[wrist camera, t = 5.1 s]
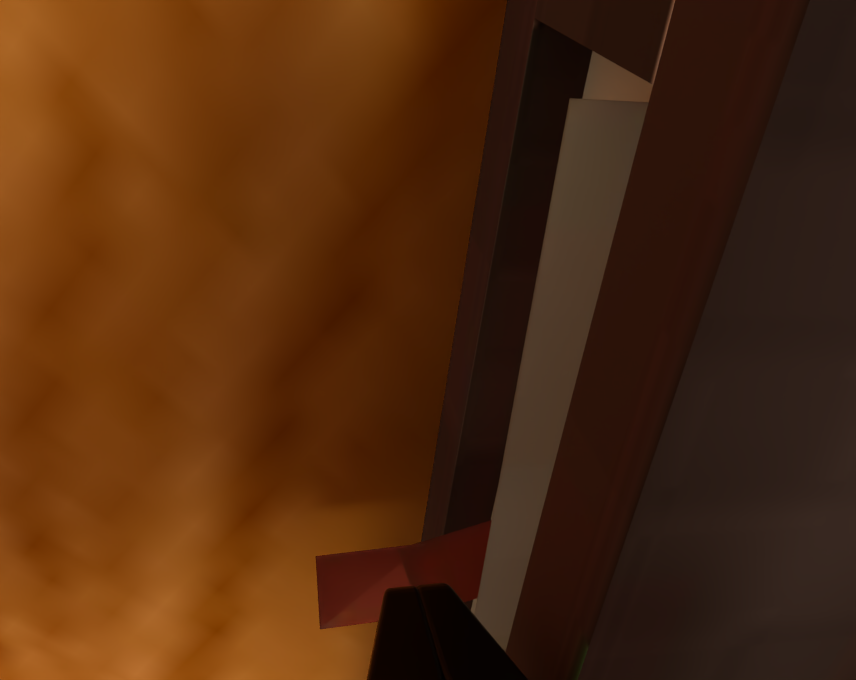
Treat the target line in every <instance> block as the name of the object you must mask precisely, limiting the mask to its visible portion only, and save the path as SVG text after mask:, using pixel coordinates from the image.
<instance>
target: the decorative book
mask: <svg viewBox="0 0 856 680" xmlns="http://www.w3.org/2000/svg"><path fill="white" fill-rule="evenodd" d="M316 568H317V585H318V602H319V619H320V629H326V628H333V627H341V626H348V625H356V624H363V623H371V622H378V620H379V615H380V610H381V605H382V600H383V596H384V592H385V591H386V590H387V589H388V588H395V587H405V586H415V587H417V586H419V585H425V584H435V583H446V584H448V585H449V586H451V588H452V589H453V590H454V591H455V592H456V593H457V595H458V596H459V597H460V598H461V599H462V601H463V602H464V603H465V604H466V605H467V607H468V608H469V609H470V610H471V611H472V613H473V614H474V615H475V616H476V617H477V619H478V620H479V621H480V622H481V623H482V625H483V626H484V627H485V628H486V630H487V631H488V632H489V633H490V634H491V636H492V637H493V638H494V639H495V640H496V642H497V643H498V644H499V645H500V646H501V648H502V649H503V650H504V651H505V652H506V654H507V655H508V656H509V657H510V658H511V660H512V661H513V662H514V663H515V664H516V666H517V667H518V668H519V669H520V670H521V672H522V673H523V674H524V675H525V676H526V678H527V679H528V680H856V0H507V6H506V13H505V19H504V25H503V31H502V38H501V44H500V50H499V57H498V63H497V69H496V75H495V82H494V88H493V94H492V100H491V107H490V113H489V119H488V126H487V132H486V138H485V144H484V151H483V157H482V163H481V169H480V176H479V182H478V188H477V195H476V201H475V207H474V213H473V220H472V226H471V232H470V238H469V245H468V251H467V257H466V263H465V270H464V276H463V282H462V289H461V295H460V301H459V307H458V314H457V320H456V326H455V332H454V339H453V345H452V351H451V358H450V364H449V370H448V376H447V383H446V389H445V395H444V401H443V408H442V414H441V420H440V427H439V433H438V439H437V445H436V452H435V458H434V464H433V470H432V477H431V483H430V489H429V495H428V502H427V508H426V514H425V521H424V527H423V533H422V539H421V542H419V543H416V544H413V545H407V546H398V547H390V548H381V549H373V550H364V551H356V552H347V553H339V554H330V555H322V556H316Z"/></svg>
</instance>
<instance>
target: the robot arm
mask: <svg viewBox="0 0 856 680" xmlns="http://www.w3.org/2000/svg"><path fill="white" fill-rule="evenodd" d="M367 680H528V679H527V678H526V676H525V675H524V674H523V673H522V672H521V670H520V669H519V668H518V667H517V666H516V664H515V663H514V662H513V661H512V660H511V658H510V657H509V656H508V655H507V654H506V652H505V651H504V650H503V649H502V648H501V646H500V645H499V644H498V643H497V642H496V640H495V639H494V638H493V637H492V636H491V634H490V633H489V632H488V631H487V630H486V628H485V627H484V626H483V625H482V623H481V622H480V621H479V620H478V619H477V617H476V616H475V615H474V614H473V613H472V611H471V610H470V609H469V608H468V607H467V605H466V604H465V603H464V602H463V601H462V599H461V598H460V597H459V596H458V595H457V593H456V592H455V591H454V590H453V589H452V588H451V586H449V585H448V584H446V583H435V584H425V585H419V586H417V587H415V586H405V587H395V588H388V589H387V590H386V591H385V592H384V596H383V600H382V605H381V610H380V615H379V620H378V626H377V631H376V636H375V641H374V646H373V651H372V656H371V661H370V666H369V671H368V676H367Z"/></svg>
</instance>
